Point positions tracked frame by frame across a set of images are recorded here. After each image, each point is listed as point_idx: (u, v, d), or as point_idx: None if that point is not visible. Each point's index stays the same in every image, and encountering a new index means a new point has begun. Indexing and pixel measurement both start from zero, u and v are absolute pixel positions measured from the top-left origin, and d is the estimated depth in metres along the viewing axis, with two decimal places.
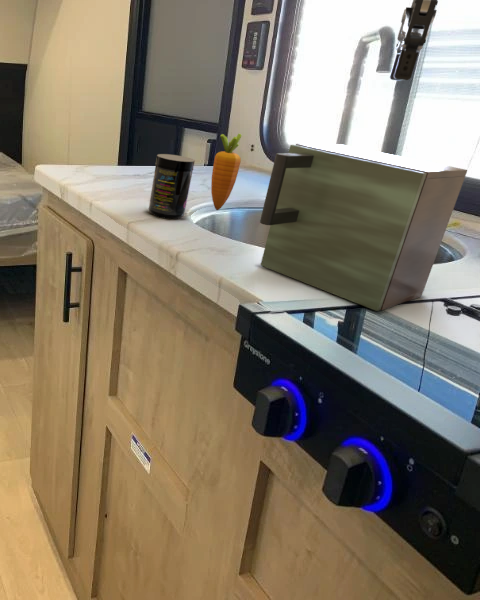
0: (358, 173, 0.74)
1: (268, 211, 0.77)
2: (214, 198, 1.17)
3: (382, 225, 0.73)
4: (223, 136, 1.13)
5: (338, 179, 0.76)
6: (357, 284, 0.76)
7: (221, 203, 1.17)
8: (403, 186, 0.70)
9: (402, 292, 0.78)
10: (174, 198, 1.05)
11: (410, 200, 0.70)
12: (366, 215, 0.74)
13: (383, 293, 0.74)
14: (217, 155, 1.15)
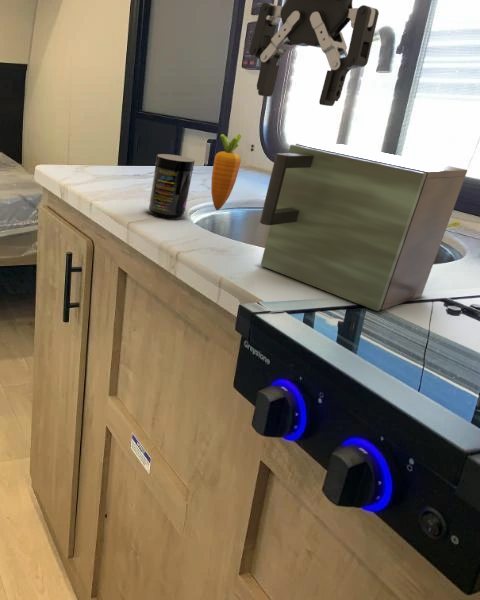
0: (358, 173, 0.74)
1: (268, 211, 0.77)
2: (214, 198, 1.17)
3: (382, 225, 0.73)
4: (223, 136, 1.13)
5: (338, 179, 0.76)
6: (357, 284, 0.76)
7: (221, 203, 1.17)
8: (403, 186, 0.70)
9: (402, 292, 0.78)
10: (174, 198, 1.05)
11: (410, 200, 0.70)
12: (366, 215, 0.74)
13: (383, 293, 0.74)
14: (217, 155, 1.15)
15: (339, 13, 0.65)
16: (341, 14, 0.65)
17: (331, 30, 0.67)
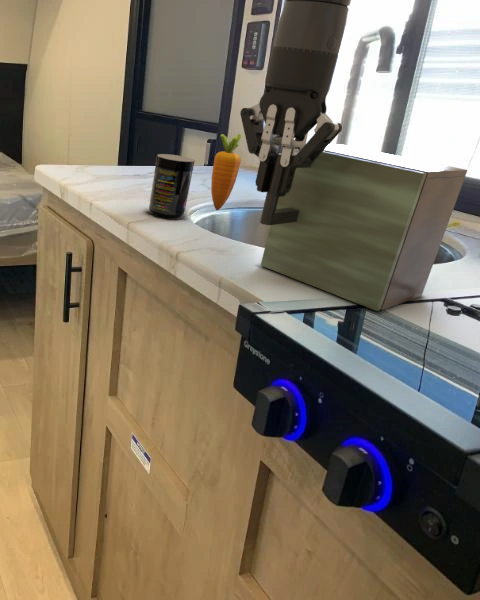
0: (358, 173, 0.74)
1: (268, 211, 0.77)
2: (214, 198, 1.17)
3: (382, 225, 0.73)
4: (223, 136, 1.13)
5: (338, 179, 0.76)
6: (357, 284, 0.76)
7: (221, 203, 1.17)
8: (403, 186, 0.70)
9: (402, 292, 0.78)
10: (174, 198, 1.05)
11: (410, 200, 0.70)
12: (366, 215, 0.74)
13: (383, 293, 0.74)
14: (217, 155, 1.15)
15: (311, 113, 0.70)
16: (315, 112, 0.69)
17: (306, 125, 0.71)
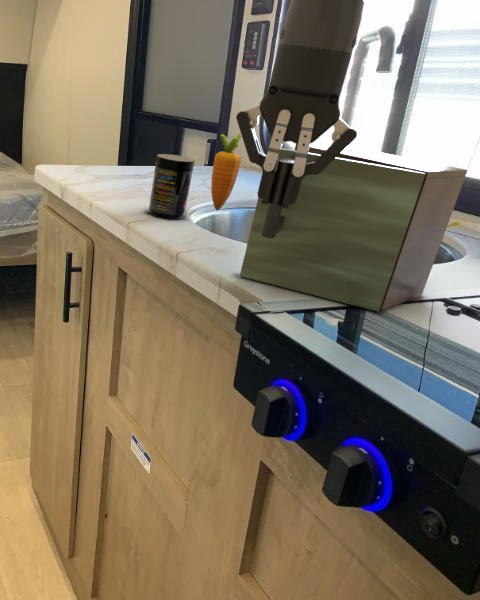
0: (352, 175, 0.72)
1: (273, 223, 0.71)
2: (214, 198, 1.17)
3: (382, 226, 0.72)
4: (223, 136, 1.13)
5: (330, 182, 0.73)
6: (356, 287, 0.75)
7: (221, 203, 1.17)
8: (404, 187, 0.69)
9: (402, 292, 0.78)
10: (174, 198, 1.05)
11: (411, 201, 0.70)
12: (363, 218, 0.72)
13: (384, 293, 0.74)
14: (217, 155, 1.15)
15: (331, 119, 0.64)
16: (335, 117, 0.64)
17: (323, 131, 0.65)
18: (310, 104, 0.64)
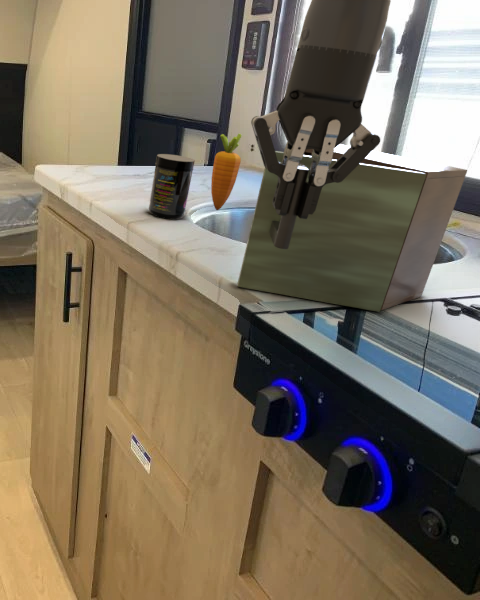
0: (355, 177, 0.70)
1: (288, 234, 0.67)
2: (214, 198, 1.17)
3: (384, 228, 0.71)
4: (223, 136, 1.13)
5: (332, 185, 0.71)
6: (357, 289, 0.74)
7: (221, 203, 1.17)
8: (405, 188, 0.69)
9: (402, 292, 0.78)
10: (174, 198, 1.05)
11: (413, 201, 0.69)
12: (365, 220, 0.71)
13: (385, 293, 0.74)
14: (217, 155, 1.15)
15: (354, 125, 0.61)
16: (358, 123, 0.61)
17: (345, 138, 0.62)
18: (333, 109, 0.61)
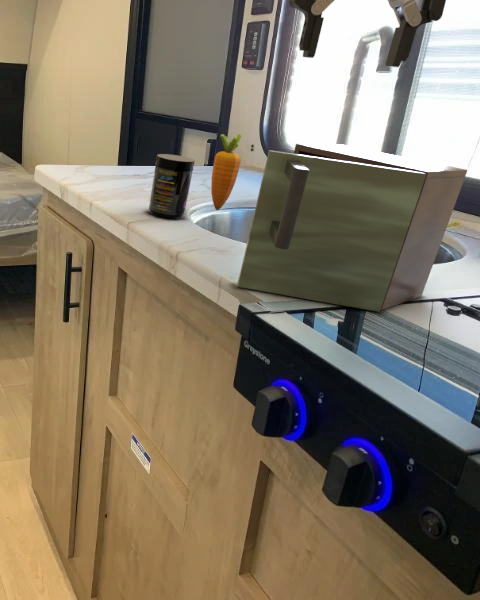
0: (355, 177, 0.70)
1: (289, 234, 0.67)
2: (214, 198, 1.17)
3: (384, 228, 0.71)
4: (223, 136, 1.13)
5: (332, 185, 0.71)
6: (357, 289, 0.74)
7: (221, 203, 1.17)
8: (405, 188, 0.69)
9: (402, 292, 0.78)
10: (174, 198, 1.05)
11: (413, 201, 0.69)
12: (366, 220, 0.71)
13: (385, 293, 0.74)
14: (217, 155, 1.15)
15: None
16: None
17: None
18: None
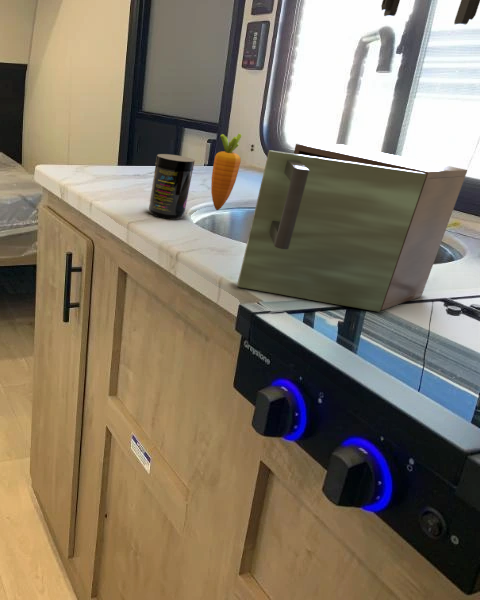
0: (355, 177, 0.70)
1: (289, 234, 0.67)
2: (214, 198, 1.17)
3: (384, 228, 0.71)
4: (223, 136, 1.13)
5: (332, 185, 0.71)
6: (357, 289, 0.74)
7: (221, 203, 1.17)
8: (405, 188, 0.69)
9: (402, 292, 0.78)
10: (174, 198, 1.05)
11: (413, 201, 0.69)
12: (366, 220, 0.71)
13: (385, 293, 0.74)
14: (217, 155, 1.15)
15: None
16: None
17: None
18: None
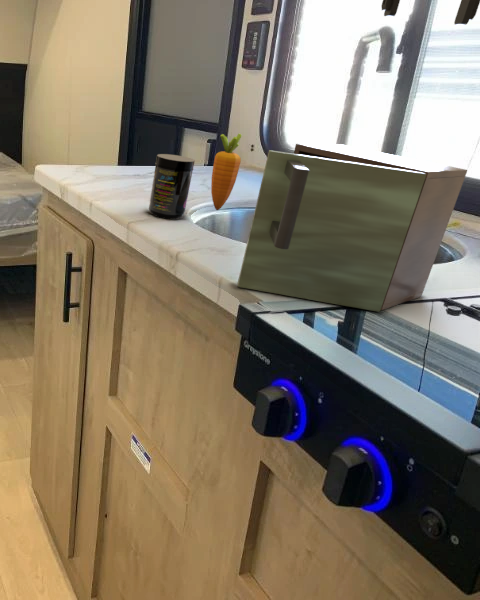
0: (355, 177, 0.70)
1: (289, 234, 0.67)
2: (214, 198, 1.17)
3: (384, 228, 0.71)
4: (223, 136, 1.13)
5: (332, 185, 0.71)
6: (357, 289, 0.74)
7: (221, 203, 1.17)
8: (405, 188, 0.69)
9: (402, 292, 0.78)
10: (174, 198, 1.05)
11: (413, 201, 0.69)
12: (366, 220, 0.71)
13: (385, 293, 0.74)
14: (217, 155, 1.15)
15: None
16: None
17: None
18: None
